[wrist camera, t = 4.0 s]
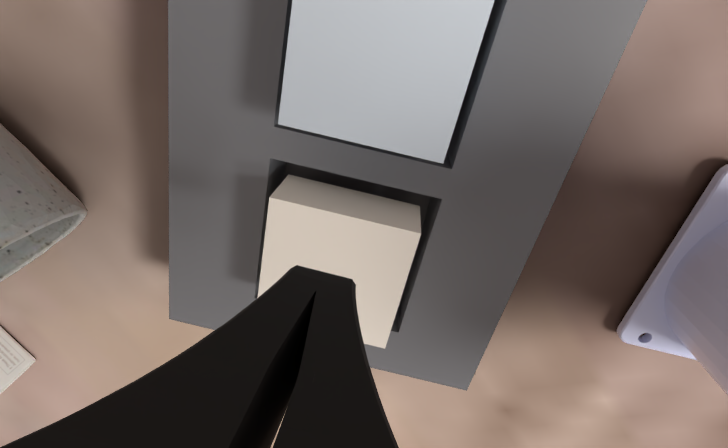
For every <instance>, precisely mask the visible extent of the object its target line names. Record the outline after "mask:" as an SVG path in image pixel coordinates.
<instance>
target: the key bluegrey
mask: <svg viewBox="0 0 728 448" xmlns="http://www.w3.org/2000/svg"><path fill="white" fill-rule="evenodd" d="M493 4H494V0H292V8H291V17H290V25H289V34H288V42H287V51H286V59H285V68H284V76H283V85H282V94H281V102H280V111H279V119H278V124H279V125H283V126H287V127H292V128H296V129H300V130H304V131H308V132H312V133H317V134H321V135H325V136H329V137H333V138H338V139H342V140H346V141H350V142H354V143H358V144H363V145H367V146H371V147H375V148H379V149H383V150H388V151H392V152H396V153H400V154H404V155H409V156H413V157H417V158H421V159H425V160H429V161H434V162H438V163H442V164H443V163H444V160H445V156H446V153H447V150H448V147H449V144H450V141H451V137H452V134H453V131H454V128H455V125H456V121H457V118H458V115H459V112H460V109H461V105H462V102H463V99H464V96H465V93H466V90H467V86H468V83H469V80H470V77H471V74H472V70H473V67H474V64H475V61H476V58H477V55H478V51H479V48H480V45H481V42H482V39H483V35H484V32H485V29H486V26H487V23H488V20H489V16H490V13H491V10H492V7H493Z"/></svg>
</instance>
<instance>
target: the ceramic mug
mask: <svg viewBox="0 0 728 448" xmlns="http://www.w3.org/2000/svg"><path fill="white" fill-rule="evenodd" d="M86 215H87V209H86V207H85V206H84V205H83V203H82V202H81V201H80V200H79V199H78V198H77V197H76V196H75V195H74V194H73V193H72V192H70V191H69V190H68V189H67V188H66V187H65V186H64V185H63V184H62V183H61V182H60V181H59V180H58V179H57V178H56V177H55V176H54V175H53V174H52V173H51V172H50V171H49V170H48V169H47V168H46V167H45V166H44V165H43V164H42V163H41V162H40V161H39V160H38V159H37V158H36V157H35V156H34V155H33V154H32V153H31V152H30V151H29V150H28V149H27V148H26V147H25V146H24V145H23V144H22V143H21V142H20V141H19V140H17V139H16V138H15V137H14V136H13V135H12V134H11V133H10V132H9V131H7V130H6V128H5V127H4V126H3V125H2V124H1V123H0V282H1V281H3V280H4V279H6V278H7V277H9V276H10V275H12V274H14V273H15V272H17V271H19V270H20V269H21V268H23V267H24V266H25V265H27V264H29V263H30V262H32V261H33V260H35V259H36V258H37V257H39V256H40V255H42V254H43V253H45V252H46V251H47V250H48V249H50V248H51V247H52V246H53V245H54V244H56V243H57V242H58V241H60V240H62V239H63V238H64V237H66V236H67V235H68V234H69V233H70V232H71V231H73V230H74V229H75V228H76V227H77V226H78V225H80V223H81V222H82V221H83V220H84V219H85V217H86Z"/></svg>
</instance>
